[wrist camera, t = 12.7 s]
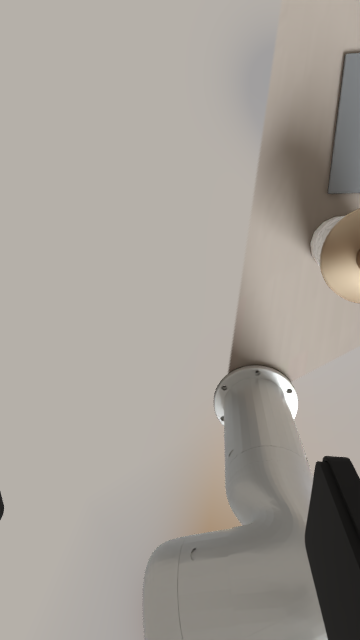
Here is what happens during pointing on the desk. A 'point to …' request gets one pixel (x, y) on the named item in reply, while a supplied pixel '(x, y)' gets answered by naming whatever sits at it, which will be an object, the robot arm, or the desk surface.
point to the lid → (343, 257)
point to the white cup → (322, 236)
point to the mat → (347, 132)
